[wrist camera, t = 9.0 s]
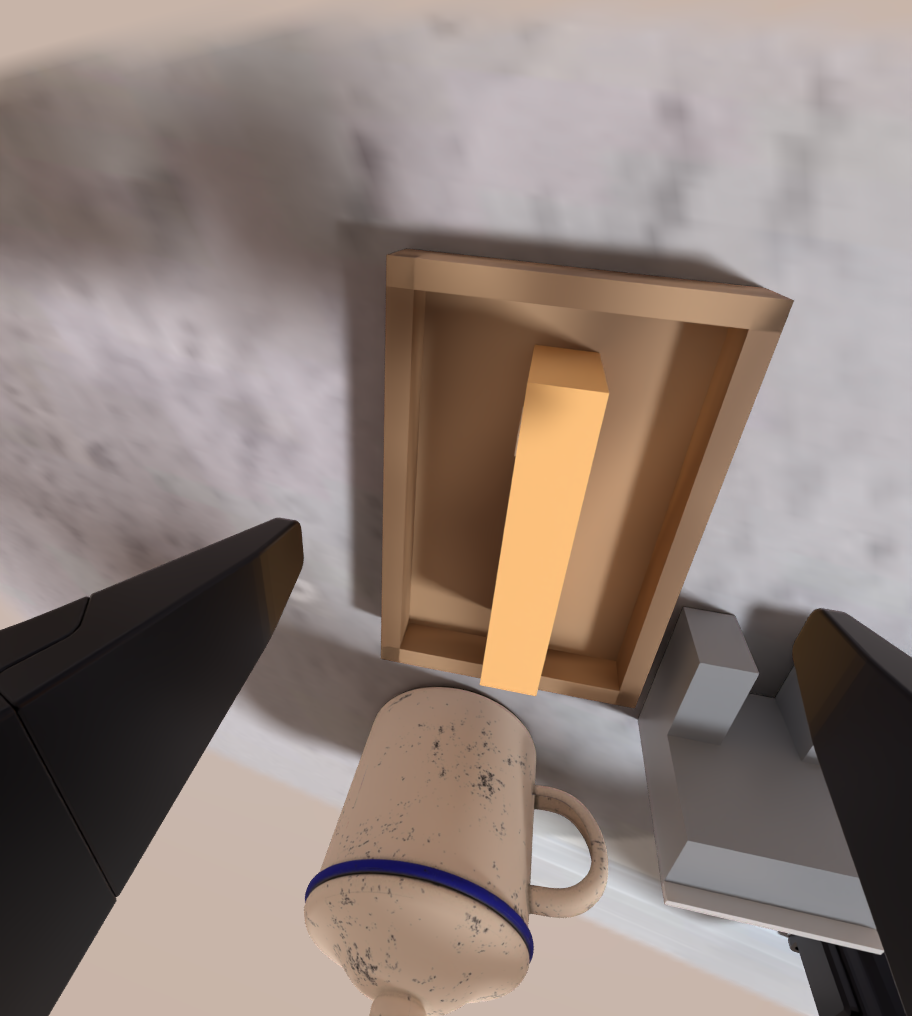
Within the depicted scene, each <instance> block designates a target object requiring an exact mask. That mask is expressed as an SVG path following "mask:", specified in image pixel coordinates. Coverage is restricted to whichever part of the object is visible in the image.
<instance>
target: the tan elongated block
mask: <svg viewBox="0 0 912 1016" xmlns="http://www.w3.org/2000/svg"><path fill="white" fill-rule="evenodd" d="M608 396H609V390H608V386H607V382H606V378H605V374H604V370H603V365H602V361H601V357H600V353H597V352H589V351H581V350H573V349H566V348H558V347H550V346H542V345H535V346H534V351H533V356H532V361H531V366H530V372H529V377H528V382H527V388H526V395H525V401H524V407H523V409H522V414H521V420H520V425H519V430H518V435H517V442H516V448H515V454H514V456H516V458H515V465H514V471H513V477H512V484H511V490H510V496H509V503H508V509H507V515H506V522H505V528H504V534H503V541H502V547H501V554H500V560H499V566H498V573H497V579H496V585H495V592H494V598H493V604H492V611H491V617H490V624H489V630H488V636H487V643H486V649H485V655H484V662H483V668H482V674H481V681H480V685H482V686H487V687H492V688H497V689H502V690H507V691H513V692H518V693H523V694H528V695H533V696H536V695H537V690H538V686H539V682H540V678H541V674H542V670H543V666H544V661H545V657H546V653H547V649H548V645H549V641H550V637H551V632H552V628H553V624H554V620H555V616H556V612H557V608H558V603H559V599H560V595H561V591H562V587H563V583H564V579H565V574H566V570H567V566H568V562H569V558H570V554H571V550H572V545H573V541H574V537H575V533H576V529H577V525H578V521H579V516H580V512H581V508H582V504H583V500H584V496H585V492H586V487H587V483H588V479H589V475H590V471H591V467H592V463H593V458H594V454H595V450H596V446H597V442H598V438H599V434H600V429H601V425H602V421H603V417H604V413H605V409H606V405H607V400H608Z"/></svg>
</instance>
